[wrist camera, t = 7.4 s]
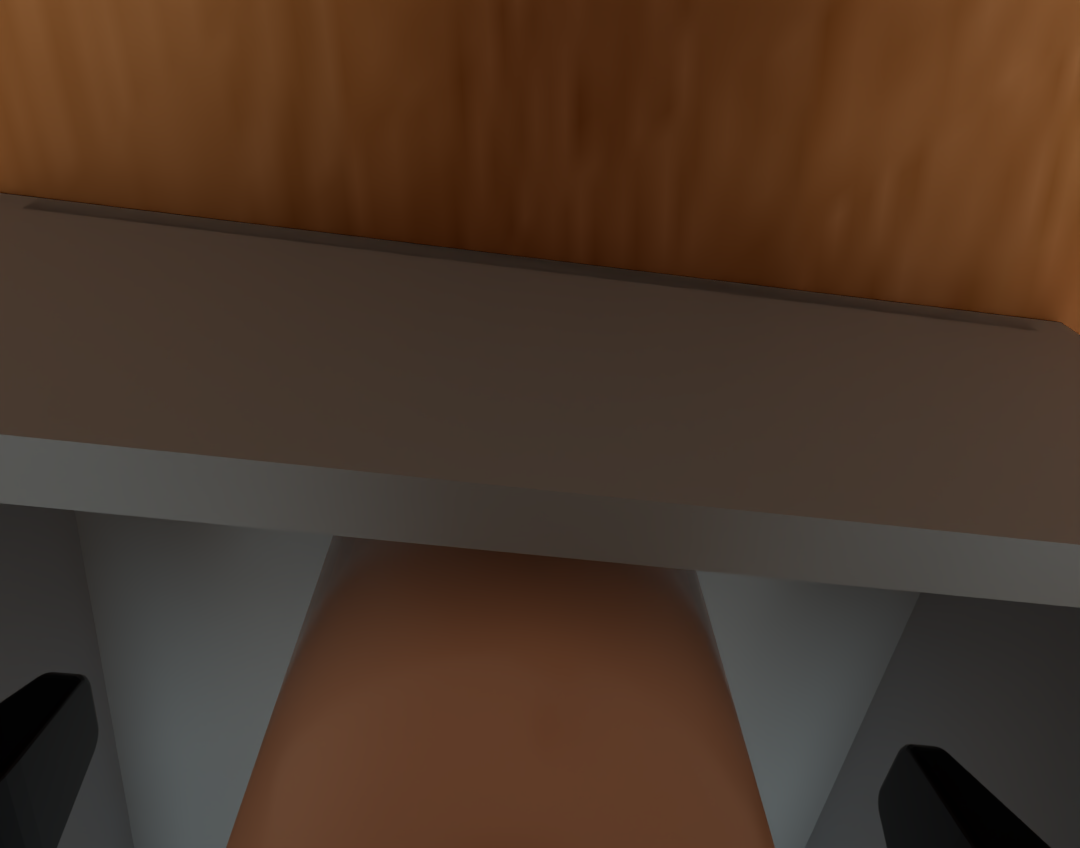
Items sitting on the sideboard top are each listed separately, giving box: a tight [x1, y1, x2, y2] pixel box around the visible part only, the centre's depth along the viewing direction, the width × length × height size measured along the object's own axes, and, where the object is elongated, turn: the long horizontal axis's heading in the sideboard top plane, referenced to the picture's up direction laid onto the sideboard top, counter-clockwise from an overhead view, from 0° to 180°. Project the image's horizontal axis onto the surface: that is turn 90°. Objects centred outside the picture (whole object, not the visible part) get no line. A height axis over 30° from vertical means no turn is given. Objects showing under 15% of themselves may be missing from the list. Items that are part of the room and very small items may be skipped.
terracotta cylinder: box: [226, 535, 775, 848], centre depth 9 cm, size 5×5×7 cm
